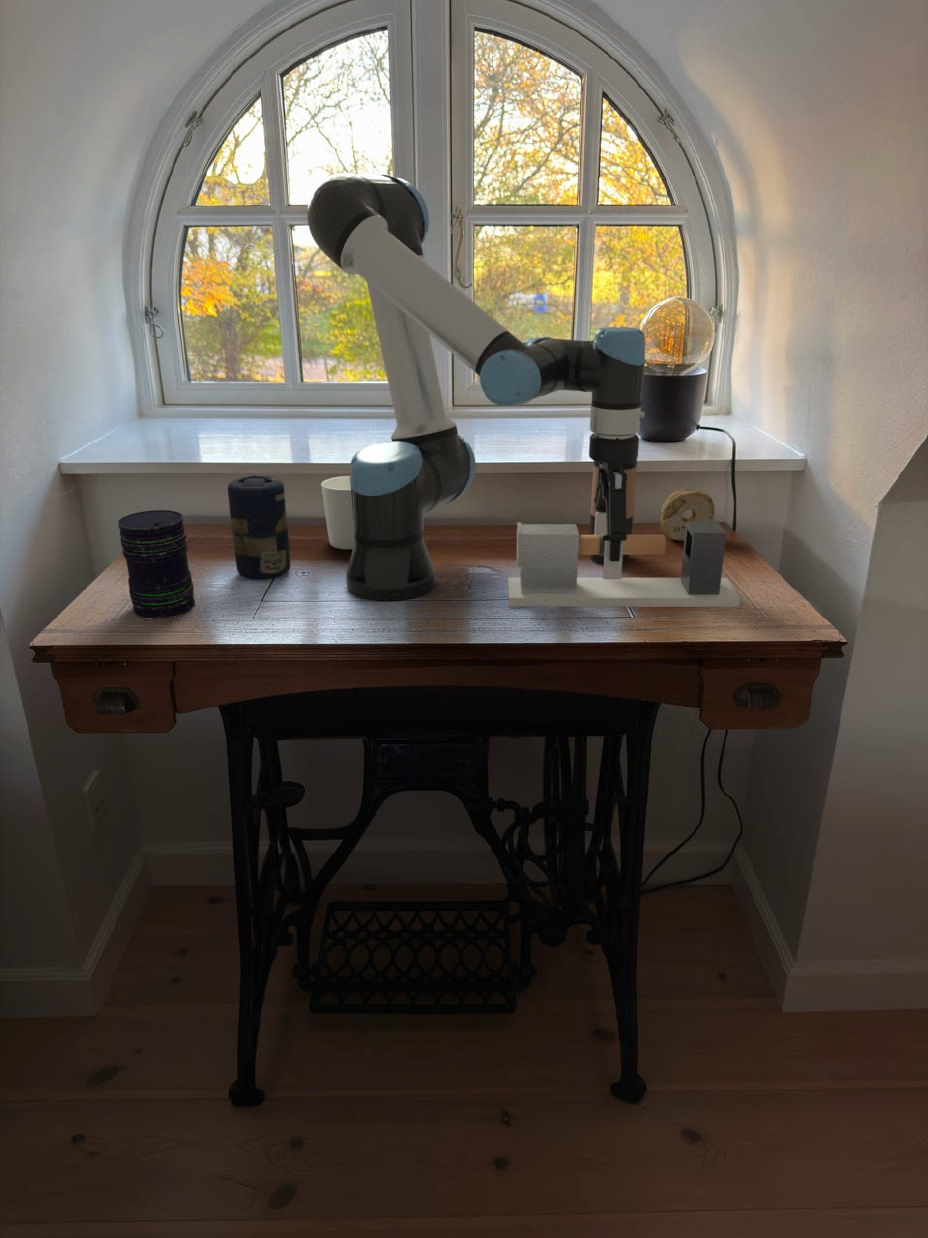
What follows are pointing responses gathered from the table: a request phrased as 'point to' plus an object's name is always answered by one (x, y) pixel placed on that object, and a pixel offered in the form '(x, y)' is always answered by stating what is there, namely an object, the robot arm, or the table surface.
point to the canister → (259, 527)
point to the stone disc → (678, 505)
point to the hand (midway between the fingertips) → (606, 563)
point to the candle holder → (339, 511)
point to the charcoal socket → (703, 557)
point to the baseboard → (624, 594)
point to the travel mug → (630, 495)
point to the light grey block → (548, 558)
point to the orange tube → (630, 546)
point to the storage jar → (157, 563)
